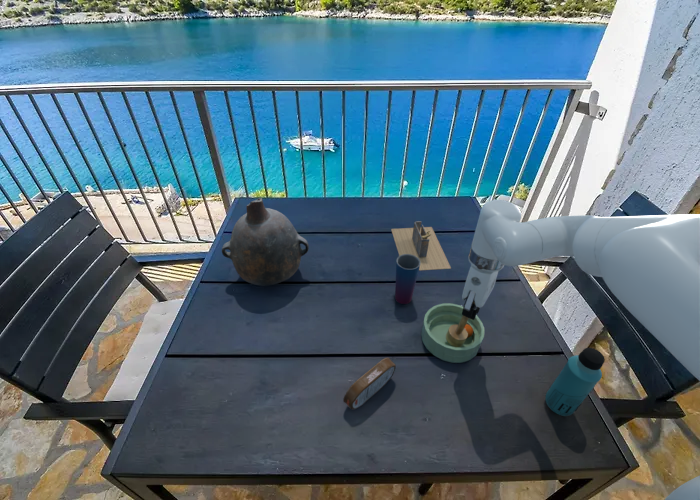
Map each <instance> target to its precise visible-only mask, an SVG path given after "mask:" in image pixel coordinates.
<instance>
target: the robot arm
mask: <svg viewBox="0 0 700 500" xmlns="http://www.w3.org/2000/svg"><path fill="white" fill-rule="evenodd" d="M521 220H522V210H520V208H519V206H517V205H516V204H514V203H512V202H511V201H508V200H504V199H492V200H489V201H486V202H485V203H484V204H483V205H482V207H481V208H480V212H479V216H478V220H477V223H476V227H475V230H474V234H473V238H472V242H471V245H470V249H469V254H468V257H467V258H468V259H467V260H468V262H469V264H470V267H469V270H468V273H467V276H466V279H465V283H464V287H463V289H462V295H461V300H462V301H465V302H464V304H463V311H462V315H463V316H465V317H468V318H470V319H472V320H474V319H475V317H476V315H477V314H479V312H480V309H481V308H483V307H484V306H485V304H486V302H487V300H488V299H489V297H490V295H491V293H492V292H493V290H494V288H495V285H496V281H497V278H498V275H499V272H500V271H502V270H503V269H504V267H508V268H510V267H511V268H513V267H514V268H515V267H519V266H524V265H527V264H531V263H535V262H540V261H543V260H548V259H552V258H556V257H573V258H574V260H575V263H576V265H577V266H578V268H579V269H580V270H581V271H583V272H584V273H586V274H588V275H590V276H593V277H600V278H602V280H603V282H604V283H605V284H606V286H607V288H608V289H609V290H610V292H611V293H612V294H613V296H615V297H616V299H617V300H619V302H620V303H621V304H622V306H624V308H625V309H626V310H627V311H628V312H629V313H630V314H631V315H632V316H633V317H634V318H635V319H636V320H637V321H638V322H639V323H640V324H641V325H642V326H643V327H644V328H645V329H646V330H647V331H648V332H649V333H650V334H651V335H652V336H653V337H654V338H655V339H657V341H658V342H659V343H660V344H661V345H662V346H663V347H664V348H665V349H666V350H667V351H668V352H669V353H670V354H671V355H672V356H673V357H674V358H675V359H676V360H677V361H678V362H679V363H680V364H681V365H682V366H683V367H684V368H685V369H686V370H687V371H688V372H689V373H690V374H691V375H692V376H693V377H694V378H696V379H697V381H699V382H700V213H699V214H697V213H696V214H695V213H692V214H691V213H688V214H687V213H686V214H658V215H657V214H656V215H655V214H654V215H629V216H627V215H626V216H596V215H590V214H589V215H587V214H585V215H583V214H582V215H560V216H549V217H543V218H537V219H532V220H527V221H522V222H521ZM473 302H475V304H473ZM664 500H700V474H699V475H697V476H696V477H694V478H691V479H690V480H688V481H686V482H684V483H682V484H680V485H679V486H678V487H677V488H675V489H674V490H673V491H671V492H670V493H669V494H668V495H667V496H666V497H665V499H664Z"/></svg>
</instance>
